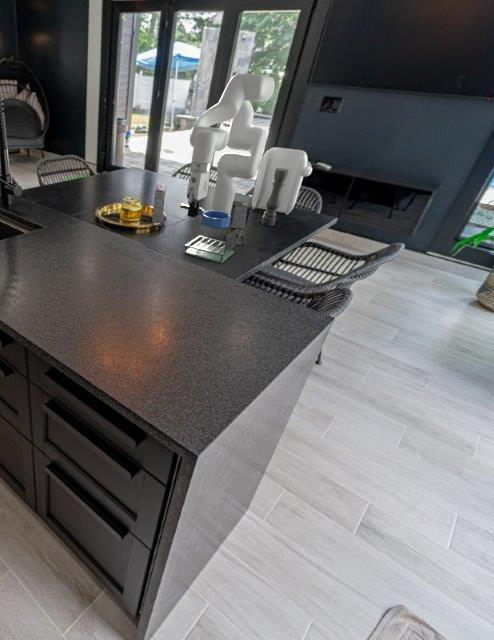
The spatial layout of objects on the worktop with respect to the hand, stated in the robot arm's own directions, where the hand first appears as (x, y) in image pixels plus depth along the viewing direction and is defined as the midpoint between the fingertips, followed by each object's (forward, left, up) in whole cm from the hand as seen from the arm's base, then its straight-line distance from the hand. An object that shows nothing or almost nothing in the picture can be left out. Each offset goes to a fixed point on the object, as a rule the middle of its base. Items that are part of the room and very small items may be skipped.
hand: (192, 215), depth 161 cm
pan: (0, +5, -1) cm, 5 cm away
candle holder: (-54, +18, -14) cm, 59 cm away
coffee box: (-20, +13, -14) cm, 27 cm away
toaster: (-79, +12, -14) cm, 81 cm away
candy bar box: (-20, -26, -14) cm, 35 cm away
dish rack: (0, +10, -13) cm, 17 cm away
